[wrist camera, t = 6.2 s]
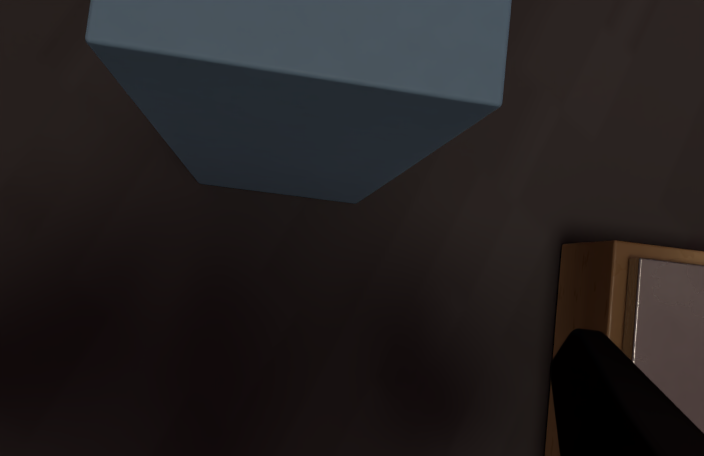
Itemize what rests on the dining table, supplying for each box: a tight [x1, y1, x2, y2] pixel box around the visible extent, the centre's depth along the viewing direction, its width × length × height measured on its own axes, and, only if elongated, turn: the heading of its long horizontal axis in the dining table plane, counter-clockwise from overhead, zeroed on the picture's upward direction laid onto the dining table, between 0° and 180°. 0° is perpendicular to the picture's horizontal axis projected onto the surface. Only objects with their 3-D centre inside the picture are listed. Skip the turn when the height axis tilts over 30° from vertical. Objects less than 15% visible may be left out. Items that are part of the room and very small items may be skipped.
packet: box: [85, 0, 512, 204], centre depth 14 cm, size 6×5×13 cm
